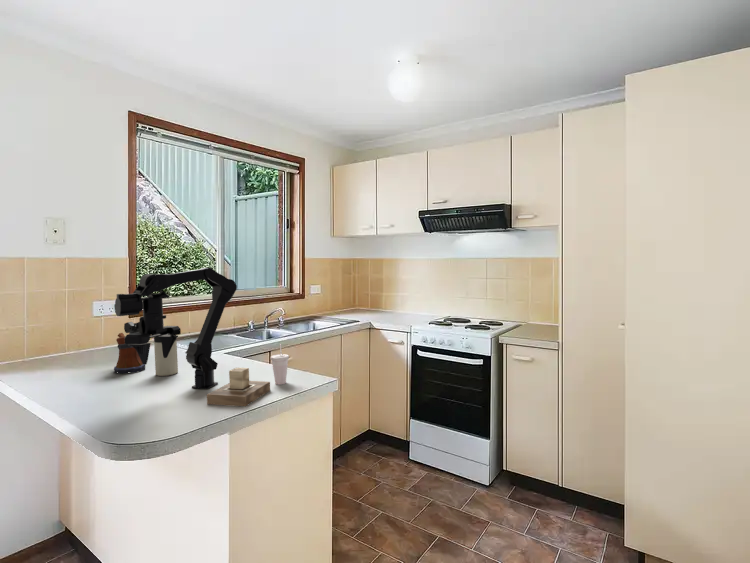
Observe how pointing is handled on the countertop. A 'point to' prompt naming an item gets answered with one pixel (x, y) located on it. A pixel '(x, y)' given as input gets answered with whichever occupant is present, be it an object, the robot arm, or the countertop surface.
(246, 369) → the peg
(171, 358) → the travel mug
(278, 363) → the smoothie
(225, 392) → the board
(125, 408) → the countertop surface
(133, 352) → the mug
